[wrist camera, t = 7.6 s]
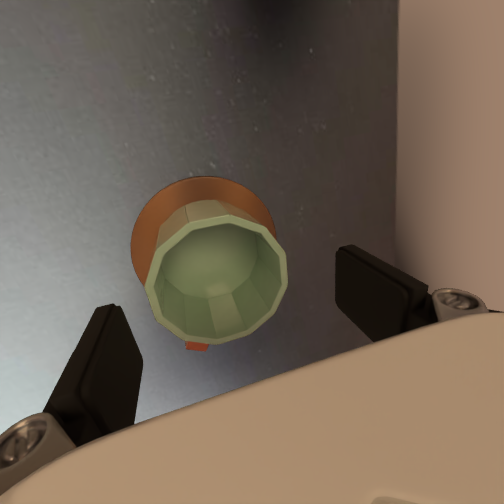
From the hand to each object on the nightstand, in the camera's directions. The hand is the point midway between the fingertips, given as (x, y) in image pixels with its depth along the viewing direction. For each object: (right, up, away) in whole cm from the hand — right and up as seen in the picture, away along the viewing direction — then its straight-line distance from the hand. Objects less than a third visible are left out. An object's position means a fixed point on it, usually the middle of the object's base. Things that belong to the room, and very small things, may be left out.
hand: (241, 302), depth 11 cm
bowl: (-2, +2, +7) cm, 7 cm away
